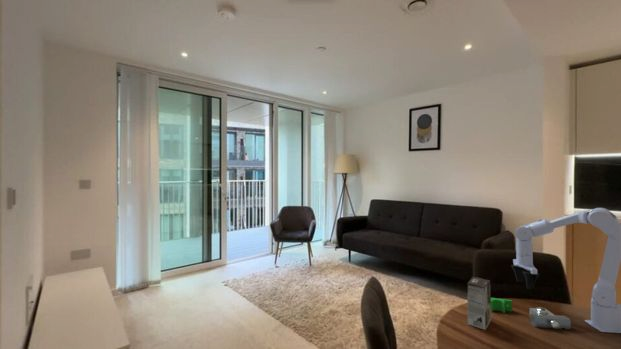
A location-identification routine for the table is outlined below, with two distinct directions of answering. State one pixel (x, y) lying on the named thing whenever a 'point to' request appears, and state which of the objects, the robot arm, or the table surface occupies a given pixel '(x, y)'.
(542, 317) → the end block
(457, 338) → the table surface
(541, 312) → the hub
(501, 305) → the pipe clamp
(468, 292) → the coffee box
